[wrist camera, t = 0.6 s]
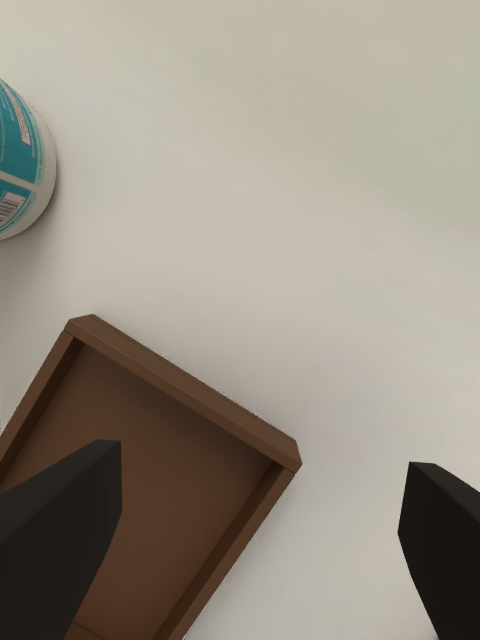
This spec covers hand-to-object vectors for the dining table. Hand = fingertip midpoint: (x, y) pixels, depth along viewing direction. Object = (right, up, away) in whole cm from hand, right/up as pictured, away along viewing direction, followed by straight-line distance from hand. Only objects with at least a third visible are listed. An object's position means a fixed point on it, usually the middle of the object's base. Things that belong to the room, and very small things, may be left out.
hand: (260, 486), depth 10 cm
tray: (-7, -5, +11) cm, 14 cm away
